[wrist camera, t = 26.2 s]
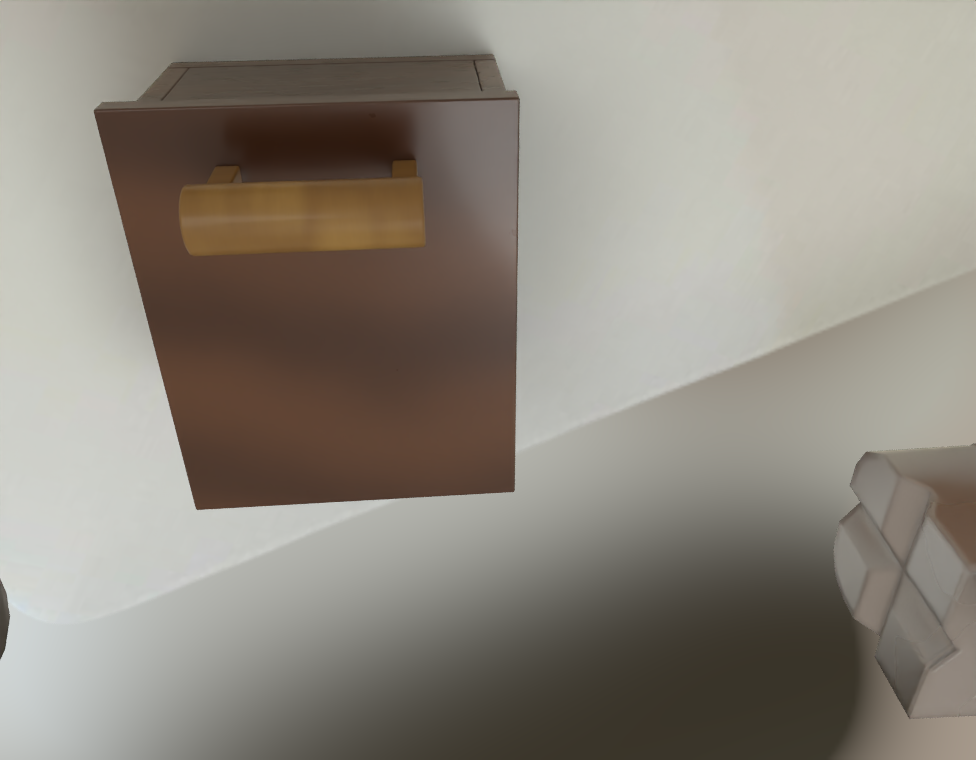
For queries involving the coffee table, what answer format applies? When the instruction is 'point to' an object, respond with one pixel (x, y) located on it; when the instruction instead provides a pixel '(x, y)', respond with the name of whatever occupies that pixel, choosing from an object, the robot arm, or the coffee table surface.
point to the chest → (326, 77)
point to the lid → (328, 288)
